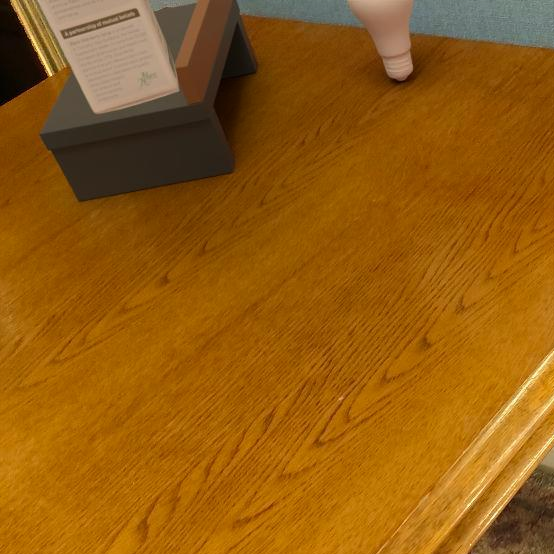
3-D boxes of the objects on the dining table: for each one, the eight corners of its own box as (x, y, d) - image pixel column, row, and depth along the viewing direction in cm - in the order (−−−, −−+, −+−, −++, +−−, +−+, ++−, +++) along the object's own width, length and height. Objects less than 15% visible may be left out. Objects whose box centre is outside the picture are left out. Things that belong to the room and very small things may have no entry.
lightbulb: (394, 101, 91) (360, -28, 83) (358, 84, 95) (322, -41, 87) (446, 74, 93) (418, -55, 85) (409, 58, 97) (378, -67, 89)
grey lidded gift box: (77, 204, 87) (18, 98, 80) (126, 87, 103) (81, -11, 96) (232, 175, 87) (187, 65, 80) (258, 62, 102) (222, -39, 95)
